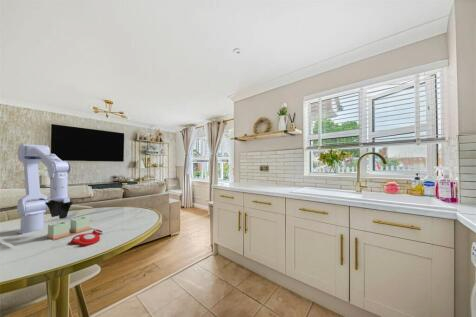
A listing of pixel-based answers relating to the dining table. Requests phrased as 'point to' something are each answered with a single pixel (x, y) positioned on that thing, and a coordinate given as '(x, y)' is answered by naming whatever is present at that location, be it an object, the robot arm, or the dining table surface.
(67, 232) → the sleeve
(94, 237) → the tracker holder
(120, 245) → the dining table surface
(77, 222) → the seated sleeve
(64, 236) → the pin board
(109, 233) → the dining table surface
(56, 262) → the dining table surface
